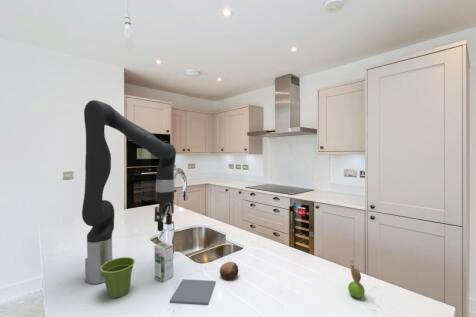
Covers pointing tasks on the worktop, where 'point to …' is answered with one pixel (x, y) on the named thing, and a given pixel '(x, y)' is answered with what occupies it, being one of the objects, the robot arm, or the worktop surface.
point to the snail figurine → (356, 283)
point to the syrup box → (163, 261)
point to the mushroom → (229, 270)
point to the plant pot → (118, 276)
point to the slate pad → (193, 292)
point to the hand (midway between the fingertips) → (164, 227)
